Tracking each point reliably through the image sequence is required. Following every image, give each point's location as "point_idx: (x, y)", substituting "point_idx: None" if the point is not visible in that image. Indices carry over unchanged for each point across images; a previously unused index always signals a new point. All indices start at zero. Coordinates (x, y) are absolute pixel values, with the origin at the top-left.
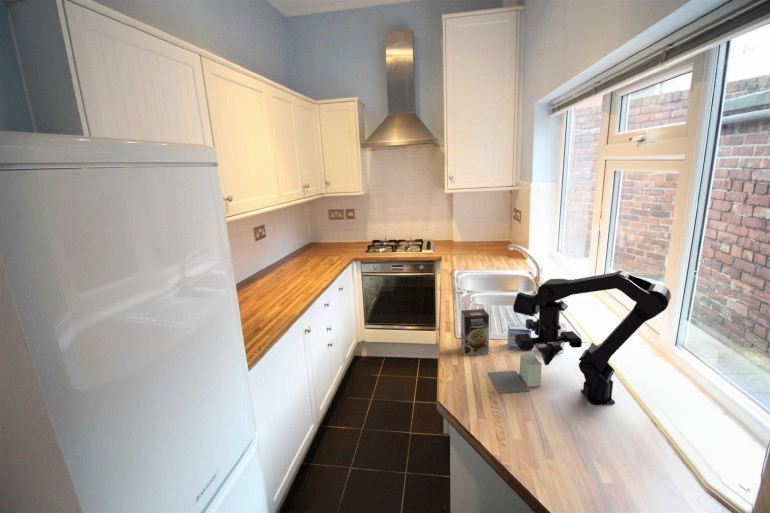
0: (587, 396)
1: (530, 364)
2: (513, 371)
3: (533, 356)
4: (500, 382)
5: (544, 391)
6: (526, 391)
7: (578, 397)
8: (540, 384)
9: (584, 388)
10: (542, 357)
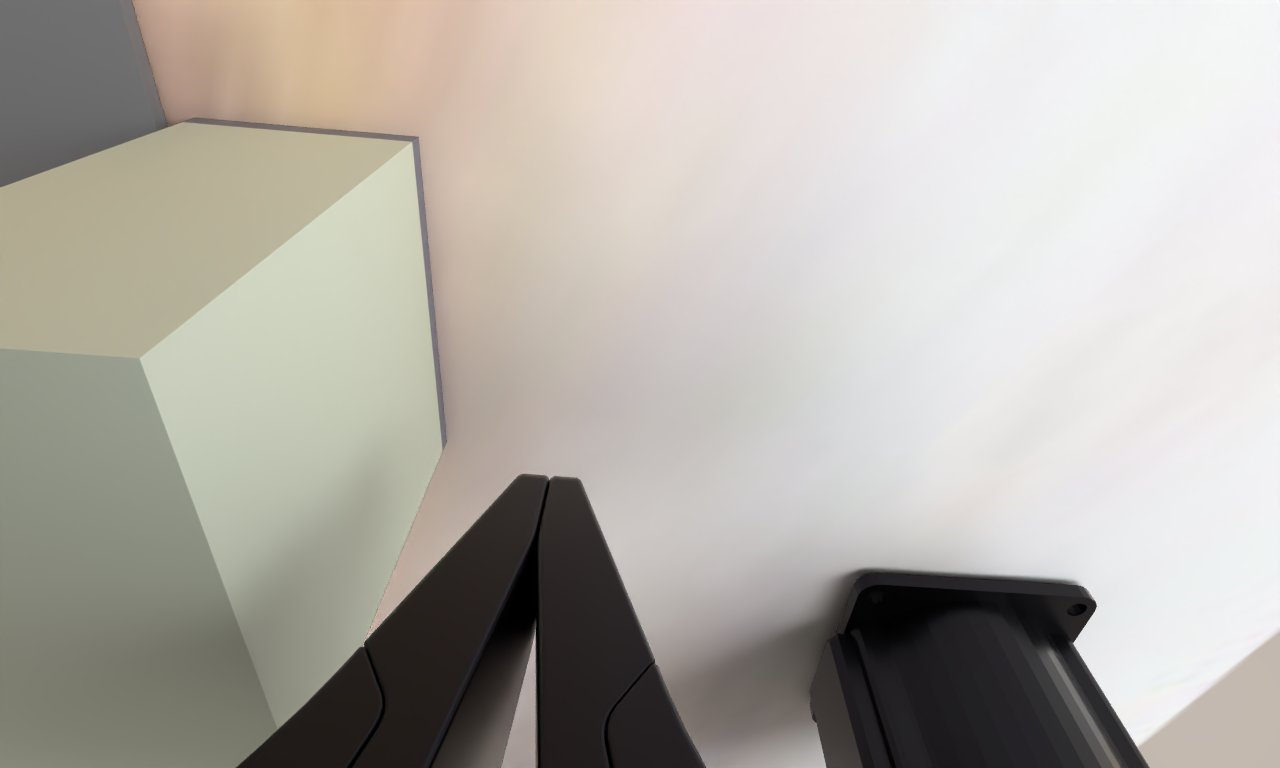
0: (815, 714)
1: (47, 762)
2: (61, 5)
3: (153, 537)
4: None
5: (463, 511)
6: None
7: (765, 623)
8: (432, 468)
9: (841, 730)
10: (436, 571)
